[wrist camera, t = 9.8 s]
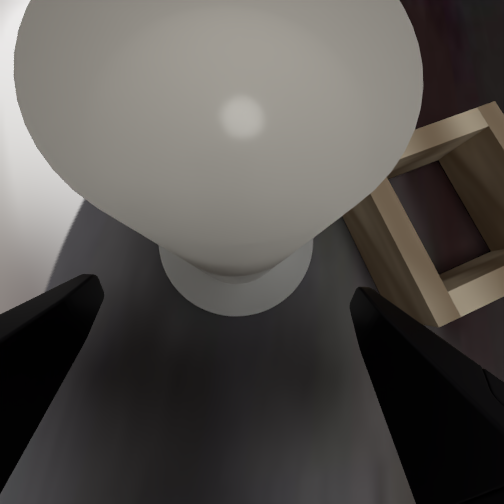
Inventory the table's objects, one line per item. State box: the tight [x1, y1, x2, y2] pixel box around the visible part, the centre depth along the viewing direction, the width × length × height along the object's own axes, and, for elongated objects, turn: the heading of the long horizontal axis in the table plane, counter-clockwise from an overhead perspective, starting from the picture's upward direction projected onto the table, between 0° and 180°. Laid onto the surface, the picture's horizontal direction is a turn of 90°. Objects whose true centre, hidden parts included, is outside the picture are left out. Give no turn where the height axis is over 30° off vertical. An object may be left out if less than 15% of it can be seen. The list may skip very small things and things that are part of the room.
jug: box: [14, 0, 423, 284], centre depth 10 cm, size 9×6×13 cm
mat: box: [159, 238, 313, 316], centre depth 17 cm, size 11×11×1 cm
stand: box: [342, 101, 504, 327], centre depth 16 cm, size 11×11×4 cm
